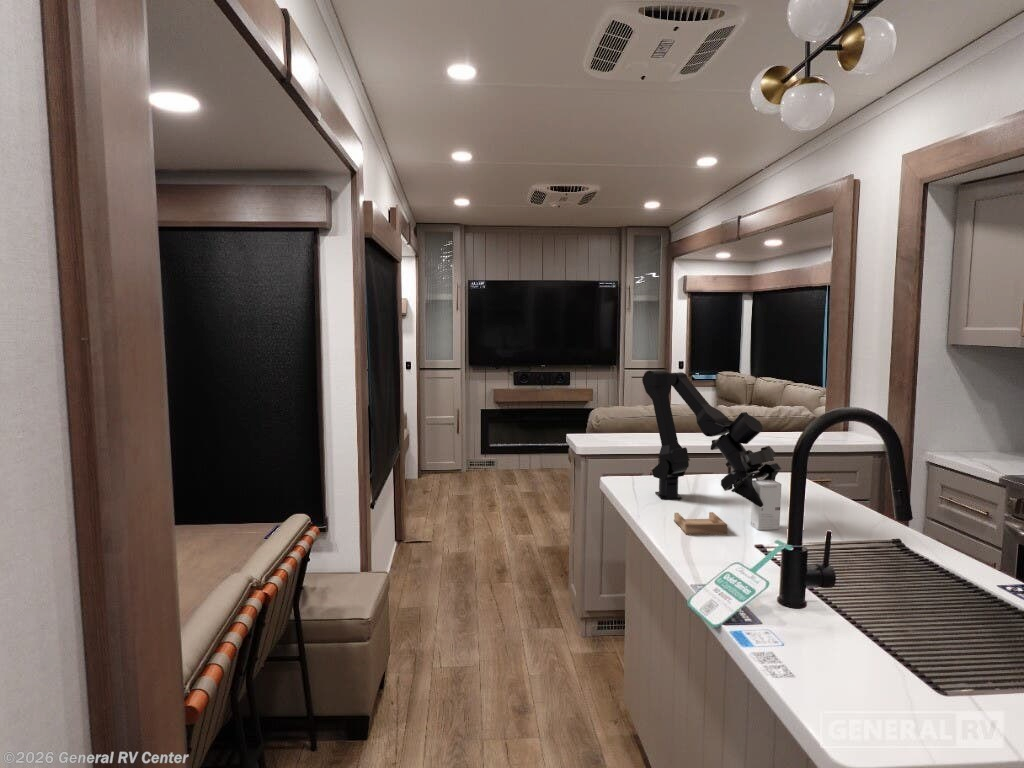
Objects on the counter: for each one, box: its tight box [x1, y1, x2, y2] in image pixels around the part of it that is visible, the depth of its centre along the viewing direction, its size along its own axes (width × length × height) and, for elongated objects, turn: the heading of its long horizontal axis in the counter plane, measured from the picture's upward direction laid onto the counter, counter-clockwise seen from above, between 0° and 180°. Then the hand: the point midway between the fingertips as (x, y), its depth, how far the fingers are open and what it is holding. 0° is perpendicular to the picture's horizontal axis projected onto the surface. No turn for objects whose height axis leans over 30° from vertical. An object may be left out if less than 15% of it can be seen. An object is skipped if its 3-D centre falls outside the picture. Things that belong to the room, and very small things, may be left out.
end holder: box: [673, 511, 728, 536], centre depth 154 cm, size 10×10×2 cm
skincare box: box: [749, 479, 782, 531], centre depth 154 cm, size 6×4×12 cm
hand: (770, 503), depth 153 cm, fingers closed on skincare box, 7 cm apart
